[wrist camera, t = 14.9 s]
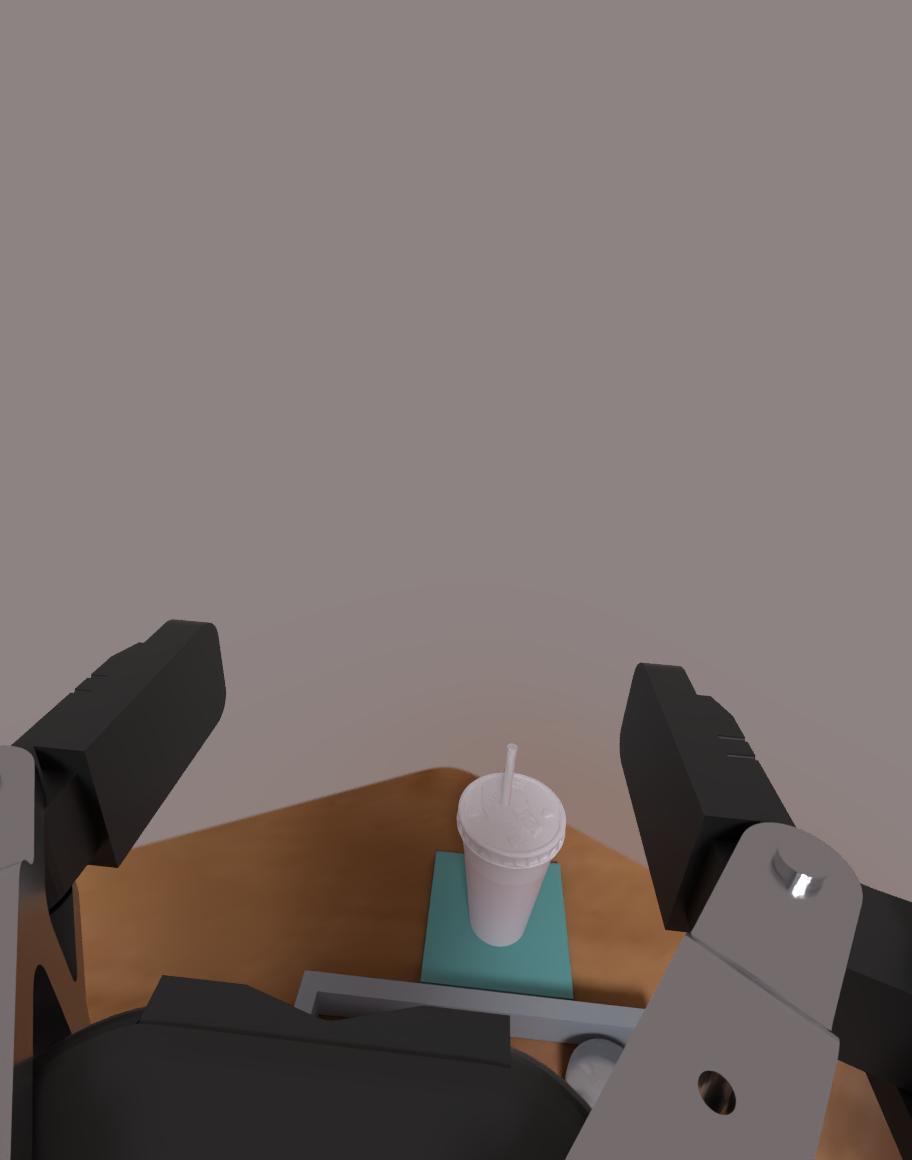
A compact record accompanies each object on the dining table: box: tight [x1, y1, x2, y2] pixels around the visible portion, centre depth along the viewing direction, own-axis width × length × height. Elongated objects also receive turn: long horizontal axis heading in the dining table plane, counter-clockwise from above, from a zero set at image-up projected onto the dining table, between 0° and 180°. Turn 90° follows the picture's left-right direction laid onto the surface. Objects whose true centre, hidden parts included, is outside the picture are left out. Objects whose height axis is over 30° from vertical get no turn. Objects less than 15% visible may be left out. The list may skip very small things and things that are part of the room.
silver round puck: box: [564, 1039, 624, 1108], centre depth 29 cm, size 4×4×2 cm
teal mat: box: [420, 851, 574, 1001], centre depth 38 cm, size 9×9×1 cm
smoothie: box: [456, 744, 566, 947], centre depth 34 cm, size 6×6×14 cm
